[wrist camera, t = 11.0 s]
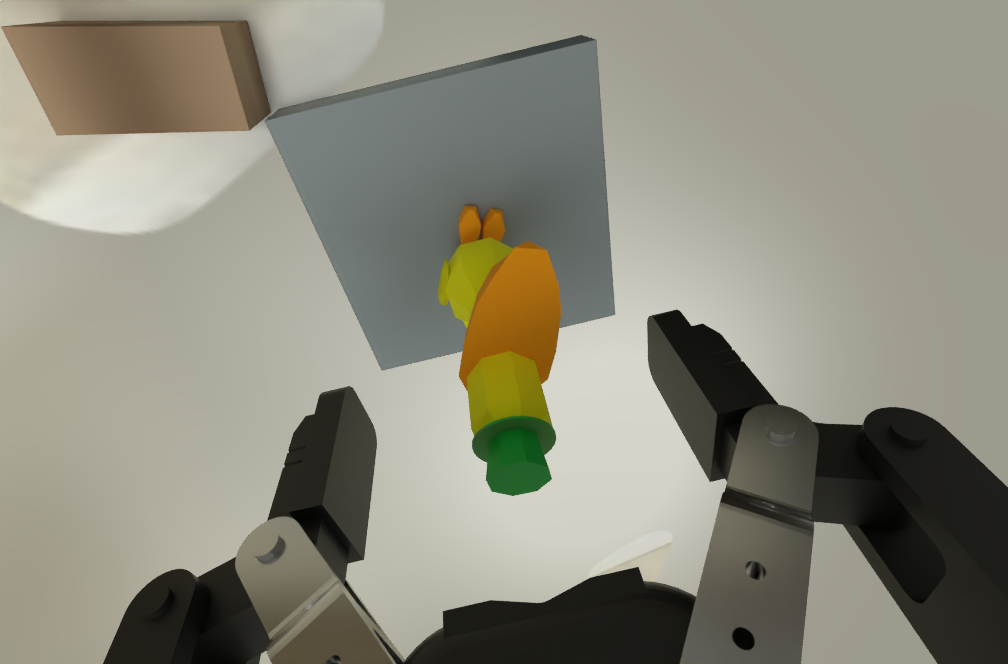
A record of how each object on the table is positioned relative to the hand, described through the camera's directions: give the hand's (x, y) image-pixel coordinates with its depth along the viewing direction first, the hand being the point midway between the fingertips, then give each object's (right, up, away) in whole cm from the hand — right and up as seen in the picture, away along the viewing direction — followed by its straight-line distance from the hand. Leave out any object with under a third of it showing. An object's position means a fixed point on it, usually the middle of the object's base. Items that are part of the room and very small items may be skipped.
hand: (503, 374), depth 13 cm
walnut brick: (-12, +11, +5) cm, 17 cm away
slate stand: (-2, +6, +9) cm, 11 cm away
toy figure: (-1, +6, +7) cm, 10 cm away
